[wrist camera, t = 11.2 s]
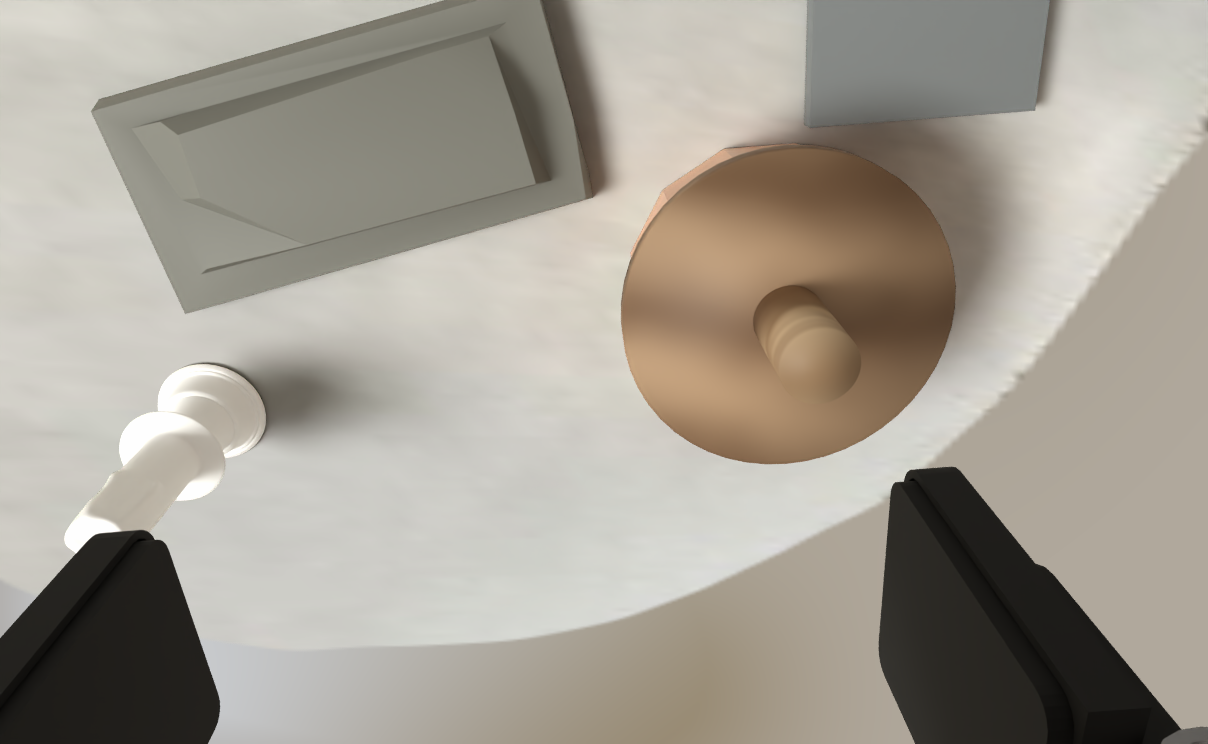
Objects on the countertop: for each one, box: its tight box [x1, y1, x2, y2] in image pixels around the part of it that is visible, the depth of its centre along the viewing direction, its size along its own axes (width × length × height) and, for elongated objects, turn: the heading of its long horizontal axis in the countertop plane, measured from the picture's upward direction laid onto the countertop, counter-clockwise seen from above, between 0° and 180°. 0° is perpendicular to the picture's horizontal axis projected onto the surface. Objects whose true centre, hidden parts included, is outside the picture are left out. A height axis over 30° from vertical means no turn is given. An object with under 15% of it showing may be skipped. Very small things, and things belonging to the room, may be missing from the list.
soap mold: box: [91, 0, 593, 314], centre depth 37 cm, size 10×20×4 cm, turn 105°
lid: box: [621, 145, 956, 464], centre depth 34 cm, size 14×14×6 cm
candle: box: [65, 364, 266, 553], centre depth 38 cm, size 5×5×12 cm
